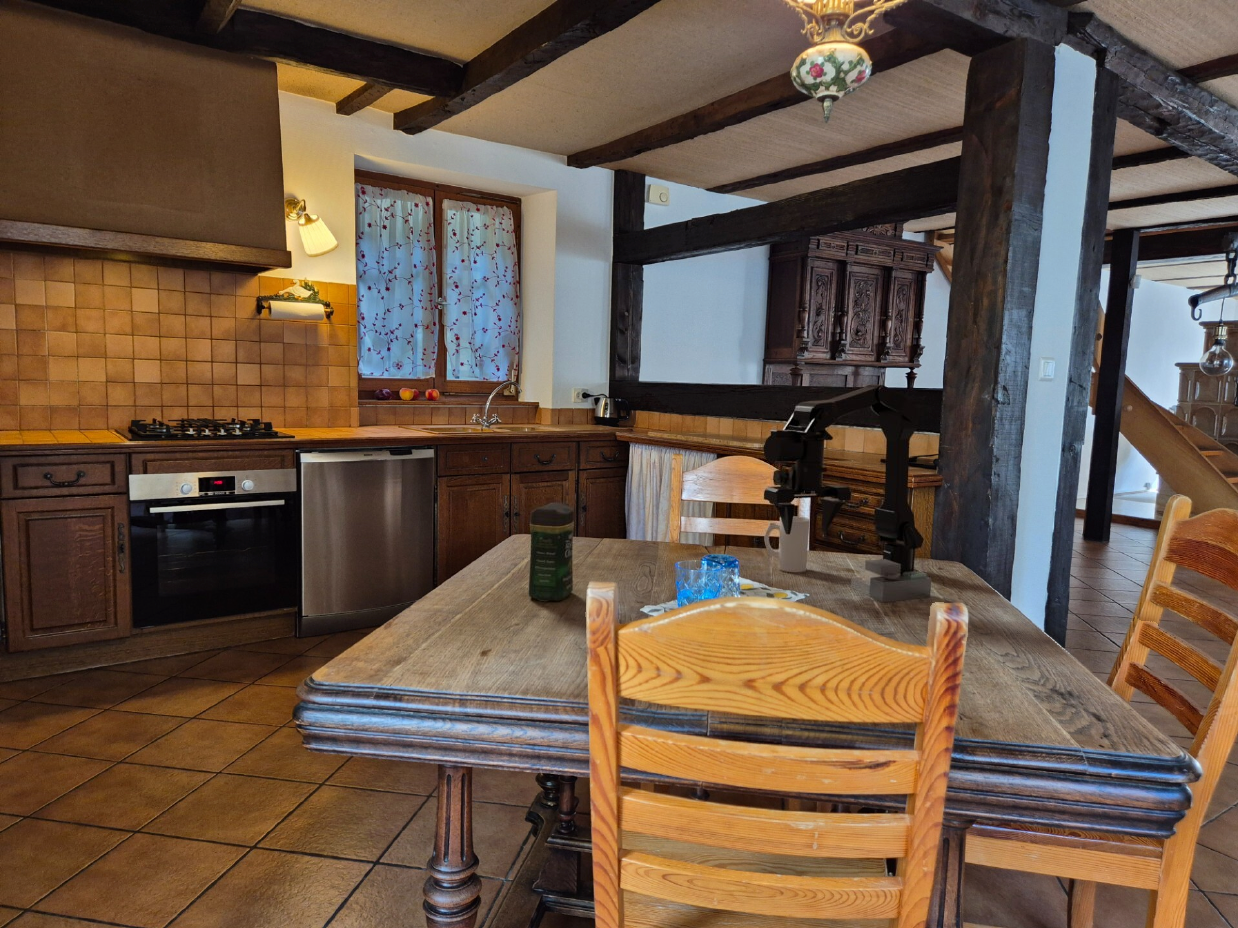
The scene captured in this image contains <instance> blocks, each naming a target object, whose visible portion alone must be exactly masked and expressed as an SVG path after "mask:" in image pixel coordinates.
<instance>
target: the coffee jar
mask: <svg viewBox="0 0 1238 928" xmlns="http://www.w3.org/2000/svg"><path fill="white" fill-rule="evenodd" d="M529 519H530V520H529V529H530V531H529V532H530V556H529V559H530V560H529V578H528V596H529V597H530V598H533V599H535V600H538V601H539V602H540V601H541V602H549V601H558V602H559V601H562V600H563V599H565V598H567V597H569V596H570V594H572V592H573V590H574V588H573V587H574V584H573V583H574V582H573V581H574V580H573V579H574V576H573V574H574V573H573V548H574V546H573V545H574V543H573V538H574V528H575V527H574V525H575V510H574V509H573V507H572V506H570V504H568V503H561V502H550V503H548V504H545V505H543V506H539V507H536V508H535V509H533V510H531V511H530V518H529Z"/></svg>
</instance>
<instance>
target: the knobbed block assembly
mask: <svg viewBox="0 0 1238 928" xmlns="http://www.w3.org/2000/svg"><path fill="white" fill-rule="evenodd" d="M864 580H865V579H863V578H862V577H851V578H850V588H851V589H854V590H856V591H859V592H860V593H863V594H865V595H868V597H869V598H871V599H874V600H876V601H879V602H881V603H886V602H887V603H888V602H897V601H905V600H908V601H909V600H917V599H926V598H931V594H932V593H931V591H932V577H929V576H928V573H926V572H923V571H921V570H919V571H911V572H903V574H900V575H897V574H892V573H885V574H884V576H883V577H872V578H870V583H869V582H867V581H864Z"/></svg>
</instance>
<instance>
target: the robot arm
mask: <svg viewBox="0 0 1238 928" xmlns="http://www.w3.org/2000/svg"><path fill="white" fill-rule="evenodd" d="M868 407H870V410H871V411H872V413H873V412H874V414H876V415H877V416H878V418H879V427H880V429H881V431H882V433H883V436H884V437H885V440H886V441H885V443H886V444H885V445H886V446H885V474H884V475H885V477H884V498H883V502H882V503H881V505H880V506H879V507H875V508H874V510H873V511H874V512H873V513H874V521H873V526H874V527H875V528H874V529H875V532H876V533H877V536H878V541H879V542H880V543H884V549H883V550H882V551H883V552H882V559H886V560H889V561H892V562H895V563H898V564H901V570H900V575H903V572H911V571H920V570H919V569H917V568H915V558H916V550H918V549H919V548H920V549H921V548H922V546H923V544H924V539H925V538H924V537H923V535H922V534H921V533H920V531H919V530H918V529H917V527H916V524H915V514H914V513H913V510H912V508H911V506H910V504H909V502H908V494H909V493H908V492H909V466H910V465H909V463H910V440H911V438H912V437H913V435H914V433H915V432H916V431H917V429H918V424H919V420H920V419H919V417H920V408H919V405H918V404H916V403H915V402H914V401H913V400H909V399H908V398H907V397H905V396H903V395H900V394H899V393H897V392H895V391H892V390H891V389H890V388H889V387H888V386H886V385H884V384H867V385H865V386H864V387H861V388H859V389H857V390H853V391H850V392H848V393H844V394H842V395H839V396H835V397H833V398H830V399H823V400H809V401H801V402H799V403H798V404H796V405H795V407H794V411H793V413H792V414H791V416H790V418H789V419H788V421H787V423H786V424H785V425H784V427H783V429H782V430H780V429H771V430H770V435H769V436H767V438H766V440H765V442H764V444H763V447H762V448H763V455H764V458H765V459H766V460H767V462H770V463H772V464H773V463H774V464H775V463H794V462H795V464H792V465H791V467H790V469H791V470H790V472H785V470H784V469H776V470H774V471H773V476H772V481H773V485H774V486H767V487H766V488H765V490H764V491H763V500H765V501H768V502H769V504H771V505H773V506H774V507H775V508H776V509H777V512H778V514H779V518H780V517H781V520H782V523H783V526H784V530H785V533H786V534H788V535H790V532H791V528H792V521H793V516H794V513H795V506H796V505H795V503H792V502H794V500H795V499H809V498H810V499H811V498H813V499H815V498H819V501H820V503H821V506H822V512H821V532H823V533H827V532H828V530H829V528H830V526H831V525H832V523H833V521H834V519H835V517H836V516H837V514H838V513H839V511H840V510H842V507H843V506H844V505H845V506H846V505H847V502H848V501H852V497H853V494H852V493H853V492H852V491H851V488H850V487H849V486H846V485H840V484H836V483H835V484H823V478H824V477H823V474H824V473H828V472H827V469H828V468H827V466H824V455H825V441H832V440H834V437H833V435H831V434H830V433H829V432H828V431H827V428H829V427H830V426H833V425H834V424H835V423H836V422H837V421H838V420H839V419H840V418H841V417H844V416H846V415H849V414H852V413H855V412H858V411H860V410H863V409H867V408H868Z"/></svg>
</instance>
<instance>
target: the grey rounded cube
mask: <svg viewBox="0 0 1238 928" xmlns="http://www.w3.org/2000/svg"><path fill="white" fill-rule="evenodd" d="M864 566H865V567H864V579H863V580H864V581H867V582H869V583H870V578H872V577H883V576H884V574H885V573H892V574H897V575H901V574H900V570H901V564H898V563H895V562H892V561H889V560H886V559H883V558H880V559H879V558H878V559H866V560H865V564H864Z"/></svg>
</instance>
